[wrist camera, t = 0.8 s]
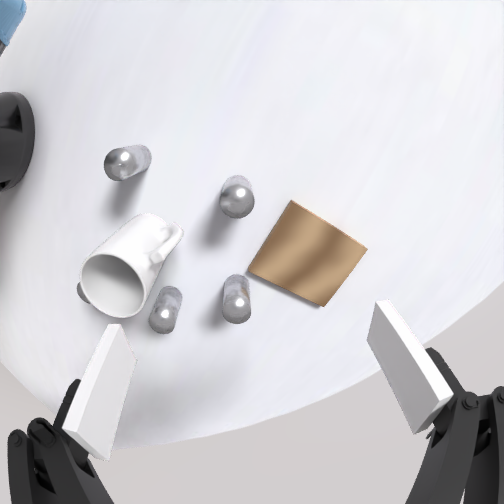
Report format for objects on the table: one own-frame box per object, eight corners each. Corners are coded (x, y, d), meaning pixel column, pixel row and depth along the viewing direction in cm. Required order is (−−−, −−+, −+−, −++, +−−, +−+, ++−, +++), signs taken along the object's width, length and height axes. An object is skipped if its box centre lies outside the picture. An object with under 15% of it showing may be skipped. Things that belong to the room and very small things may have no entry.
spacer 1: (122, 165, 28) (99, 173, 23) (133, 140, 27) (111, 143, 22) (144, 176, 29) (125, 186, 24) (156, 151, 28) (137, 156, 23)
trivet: (248, 267, 35) (248, 271, 34) (291, 200, 31) (292, 202, 30) (322, 303, 38) (323, 307, 37) (364, 246, 34) (367, 249, 33)
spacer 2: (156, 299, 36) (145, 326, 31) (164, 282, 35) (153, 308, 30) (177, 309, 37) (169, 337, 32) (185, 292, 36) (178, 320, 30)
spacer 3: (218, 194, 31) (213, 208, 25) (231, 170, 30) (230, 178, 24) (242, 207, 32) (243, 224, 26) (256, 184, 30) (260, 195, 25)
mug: (142, 269, 34) (108, 326, 23) (114, 226, 32) (67, 271, 21) (207, 236, 33) (192, 290, 22) (179, 187, 30) (147, 219, 19)
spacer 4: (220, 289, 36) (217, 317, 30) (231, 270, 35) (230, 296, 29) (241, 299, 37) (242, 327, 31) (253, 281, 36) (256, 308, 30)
